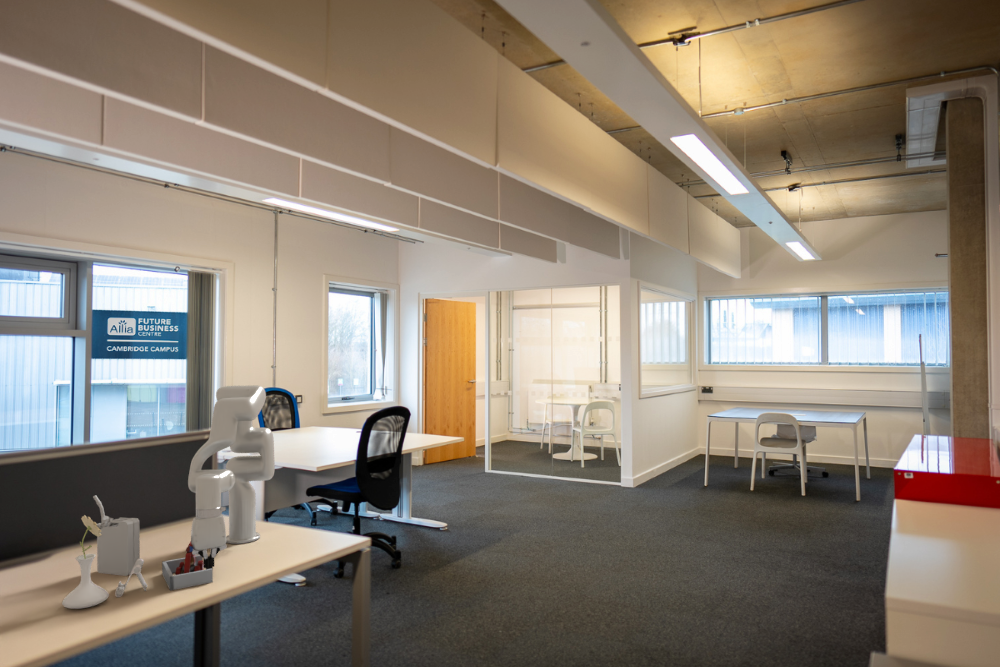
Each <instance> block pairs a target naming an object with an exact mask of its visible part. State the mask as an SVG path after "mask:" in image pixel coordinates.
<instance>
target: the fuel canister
mask: <svg viewBox="0 0 1000 667" xmlns="http://www.w3.org/2000/svg"><path fill="white" fill-rule="evenodd" d="M92 498H93V500H94V501H95V503H96V505H97V506H98V507H99V512H100V516H101V517H100V518H101V519H100V520H101V522H99V523H97V525H96V526H97V527H98V528H99V529H100V530H101V532H100V533H101V534H102V535H101V536H100V537H98V536H96V537H97V538H96V544H97V545H96V547H97V550H96V551H97V552H96V553H97V554H96V556H97V557H96V558H97V560H96V562H97V564H96V565H97V573H99V574H108V575H115V576H117V575H118V576H125V577H127V576H130V573H131V571H132V569H133V567H134V565H135V562H136V561H137V559H139V558H141V554H140V553H141V552H140V550H141V549H140V548H141V547H140V545H141V544H140V543H141V542H140V540H141V538H140V536H141V535H140V519H139V518H137V517H118V518H115V519H114V518H113V517H110V516H108V515H105V510H104V506H103V503H102V501H101V500H100V499H99V497H98V496H97V495H93V496H92Z"/></svg>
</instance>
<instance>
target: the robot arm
mask: <svg viewBox="0 0 1000 667" xmlns="http://www.w3.org/2000/svg"><path fill="white" fill-rule="evenodd" d="M215 396H216V402H215V404H214V407H213V411H212V419H211V424H210V431H209V437H208V440H206V442H205V443H203V445H202V446H201V447H199V449H198V450H197V451H196V452H195V454H194V456H193V457H192V459H191V463H190V467H189V474H188V477H187V478H188V480H187V485H188V489H189V490H190V491H191V492H192V493H194V494H195V517H193V518H192V523H191V530H190V541H191V545H193V551H192V554H195V555H196V556H197V555H200V556H202V557H203V562H204V568H203V569H205V570H206V569H211V568H212V569H214V567H215V558H216V556H217V555H218V553H219V552H221V551H223V550H225V549H227V547H228V545H227V544H234V545H237V544H246V543H251V542H252V543H253V542H254V541H257V540H259V539H260V538H261V533H260V532H257V528H256V527H257V526H256V525H257V523H256V522H257V521H256V520H257V519H256V517H257V515H256V510H257V509H256V508H257V507H256V506H257V505H256V504H257V503H256V501H257V498H256V489H255V488H254V486H253V485H252V483H250V482H261V481H263V482H264V481H269V480H271V479H273V477H274V475H275V466H276V465H275V443H274V442H275V440H274V434H273V431H272V430H271V429H270V428H268V427H254V426H253V425H254V424H253V421H254V420H256V419H257V417H258V415H260V412H261V411H262V409H263V407H264V406H265V403H266V399H267V398H266V397H267V392H266V390H265V388H264V387H263V386H261V385H227V386H226V385H225V386H221V387H219V388H217V389H216V393H215ZM227 448H229V449H230V451H231V452H233V453H236V454H255V453H256V454H257V453H258V454H259V455H238V456H234V457H231V458H230V459H228V460H227V462H226V464H225V469H202V468H203V465H204V463H205V462H206V461H207V459H208V458H210V457H211V456H213V455H215V454H216V453H218V452H220V451H223V450H225V449H227ZM226 492H228V535H227V531H226V522H225V517H224V514H222V513H223V512H226V511H227V507H226V506H222V493H226ZM207 550H210V552H209V555H208V551H207Z"/></svg>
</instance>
